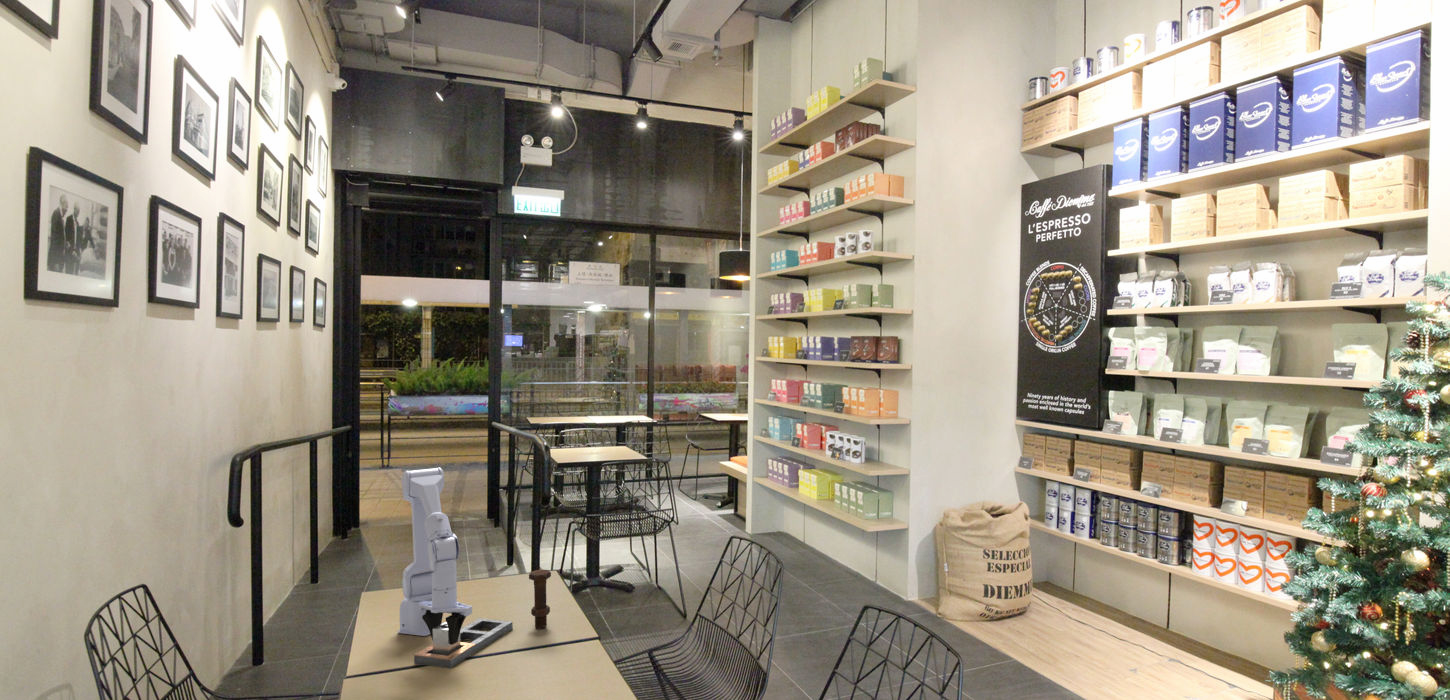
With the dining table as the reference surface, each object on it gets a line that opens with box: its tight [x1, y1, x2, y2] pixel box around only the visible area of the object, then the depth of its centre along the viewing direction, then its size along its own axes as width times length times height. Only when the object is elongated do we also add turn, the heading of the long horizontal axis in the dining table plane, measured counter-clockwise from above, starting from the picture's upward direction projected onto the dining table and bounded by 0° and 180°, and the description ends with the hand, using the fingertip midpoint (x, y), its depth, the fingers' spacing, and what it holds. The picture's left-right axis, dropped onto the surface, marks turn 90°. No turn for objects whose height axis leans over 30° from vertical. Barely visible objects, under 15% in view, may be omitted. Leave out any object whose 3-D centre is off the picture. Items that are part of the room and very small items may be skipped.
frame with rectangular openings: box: [413, 617, 514, 669], centre depth 187 cm, size 10×26×2 cm, turn 163°
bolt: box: [528, 569, 552, 629], centre depth 199 cm, size 6×5×15 cm
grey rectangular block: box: [432, 621, 461, 656], centre depth 180 cm, size 4×4×7 cm
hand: (445, 642), depth 180 cm, fingers closed on grey rectangular block, 4 cm apart
